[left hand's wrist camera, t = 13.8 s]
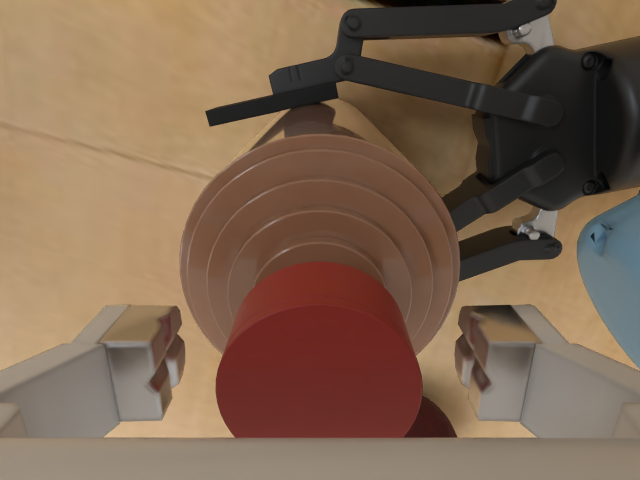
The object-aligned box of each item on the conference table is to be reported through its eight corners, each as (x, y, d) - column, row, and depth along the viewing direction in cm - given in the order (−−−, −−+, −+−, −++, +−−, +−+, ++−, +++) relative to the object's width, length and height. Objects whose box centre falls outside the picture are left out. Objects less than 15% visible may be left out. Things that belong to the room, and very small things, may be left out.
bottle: (328, 237, 32) (342, 577, 11) (237, 166, 30) (30, 402, 9) (405, 150, 30) (622, 355, 8) (311, 68, 28) (281, 60, 7)
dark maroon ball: (451, 436, 38) (478, 512, 32) (362, 453, 39) (371, 530, 33) (437, 367, 36) (464, 433, 29) (343, 386, 37) (348, 455, 30)
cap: (440, 342, 10) (465, 399, 8) (316, 433, 11) (315, 502, 9) (323, 223, 9) (324, 261, 7) (198, 335, 10) (171, 391, 8)
